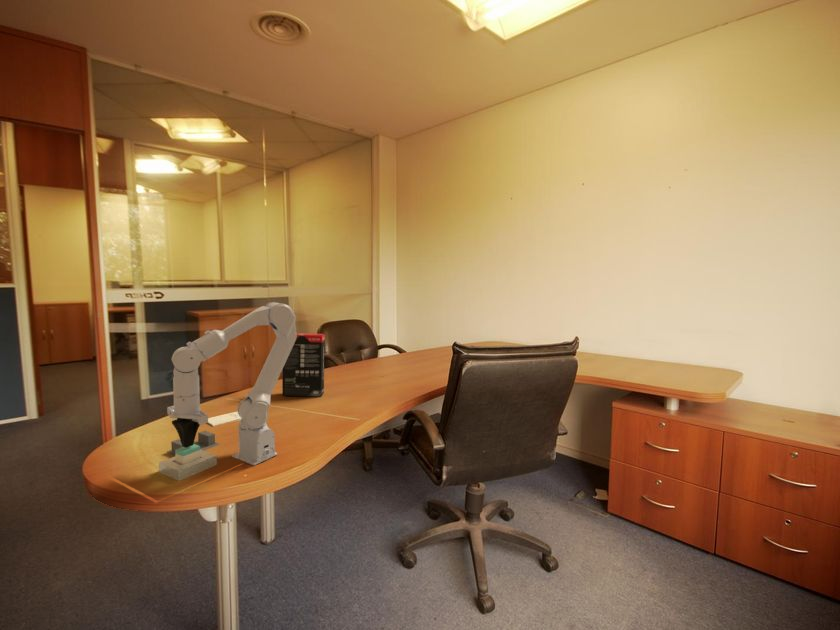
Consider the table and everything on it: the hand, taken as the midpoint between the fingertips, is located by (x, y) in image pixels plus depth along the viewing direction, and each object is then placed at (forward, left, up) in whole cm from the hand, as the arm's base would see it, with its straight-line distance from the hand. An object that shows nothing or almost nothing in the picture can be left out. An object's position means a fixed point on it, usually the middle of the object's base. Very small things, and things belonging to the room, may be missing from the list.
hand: (187, 445), depth 100 cm
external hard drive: (+25, -28, -7) cm, 38 cm away
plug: (0, 0, -6) cm, 6 cm away
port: (0, 0, -6) cm, 6 cm away
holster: (+11, -8, -6) cm, 15 cm away
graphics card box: (+25, -65, -7) cm, 70 cm away
